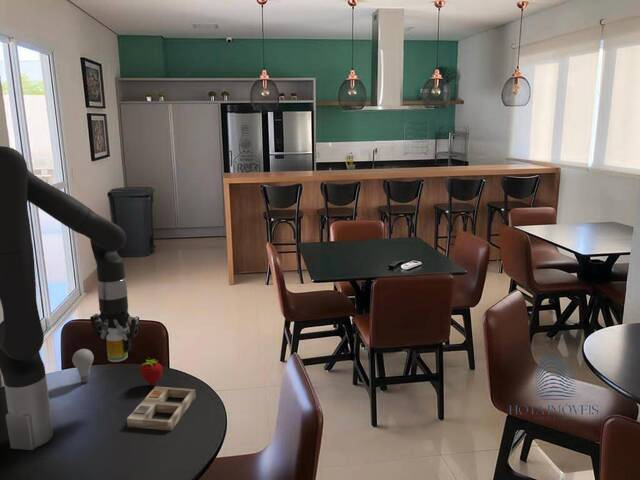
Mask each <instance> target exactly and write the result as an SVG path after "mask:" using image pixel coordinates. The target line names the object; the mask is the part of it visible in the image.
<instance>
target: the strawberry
mask: <svg viewBox="0 0 640 480" xmlns="http://www.w3.org/2000/svg"><path fill="white" fill-rule="evenodd" d="M145 361H146V362H143V363H141V365H140V369H139V371H140V375H141V377H142V378H143V379H144V380H145V381H146V382H147V383H148V384H149V386H154V387H155V385H156V383H157V382H158V381H159V380H160V379H161V377H162V375H163V370H164V369H163V365H161V364H160V363H159V362H158V360H156V358H153V359H151V358H148V359H145Z"/></svg>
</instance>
